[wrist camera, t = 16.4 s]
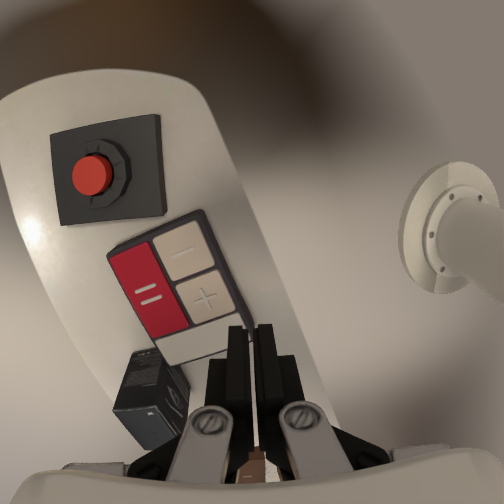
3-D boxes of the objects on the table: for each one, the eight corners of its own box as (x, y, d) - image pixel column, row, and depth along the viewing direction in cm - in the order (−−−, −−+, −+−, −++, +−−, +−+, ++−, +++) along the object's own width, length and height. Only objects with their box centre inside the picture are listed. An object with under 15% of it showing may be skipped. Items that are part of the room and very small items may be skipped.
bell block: (160, 115, 29) (150, 111, 25) (167, 211, 32) (159, 220, 28) (59, 134, 28) (40, 134, 24) (69, 221, 31) (52, 230, 28)
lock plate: (263, 446, 46) (264, 460, 43) (264, 475, 49) (265, 487, 46) (180, 448, 45) (179, 462, 42) (192, 477, 49) (191, 489, 46)
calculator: (198, 213, 29) (257, 344, 33) (203, 206, 33) (255, 324, 37) (101, 256, 29) (167, 372, 34) (116, 245, 33) (173, 352, 38)
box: (131, 351, 38) (108, 410, 27) (170, 344, 37) (154, 405, 27) (156, 393, 40) (143, 452, 30) (192, 388, 40) (185, 449, 30)
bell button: (111, 152, 26) (104, 153, 24) (114, 190, 27) (108, 193, 26) (78, 158, 26) (70, 159, 24) (82, 194, 27) (74, 197, 26)
